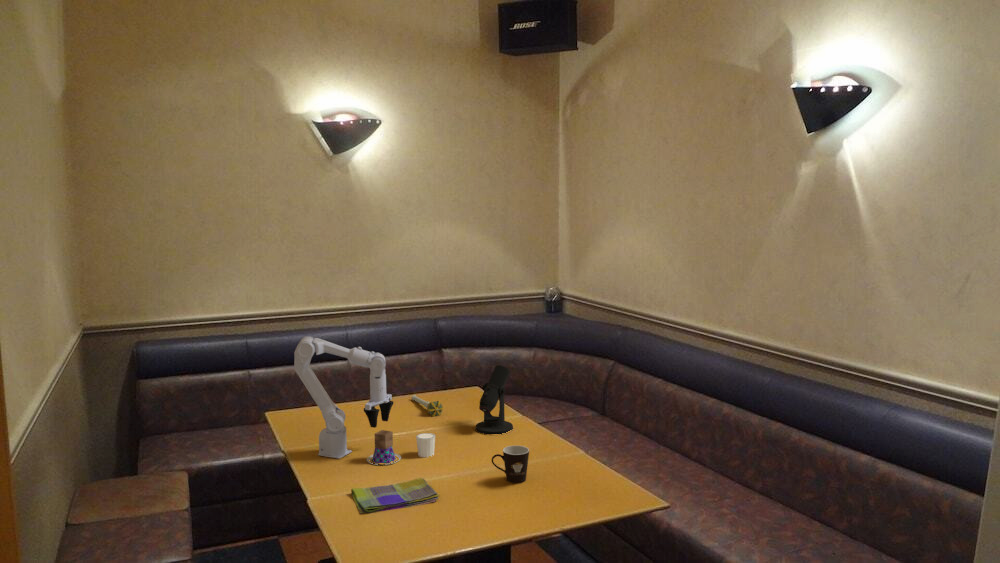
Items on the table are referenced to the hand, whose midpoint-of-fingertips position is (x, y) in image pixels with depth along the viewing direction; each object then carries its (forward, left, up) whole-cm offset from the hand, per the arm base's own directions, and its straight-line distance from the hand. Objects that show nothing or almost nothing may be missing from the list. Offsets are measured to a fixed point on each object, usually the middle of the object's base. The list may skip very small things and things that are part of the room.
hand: (379, 424), depth 263 cm
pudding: (+5, -6, -11) cm, 14 cm away
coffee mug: (+54, -5, -11) cm, 55 cm away
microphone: (+28, +40, -11) cm, 50 cm away
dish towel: (+26, -32, -11) cm, 43 cm away
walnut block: (+6, -6, -6) cm, 10 cm away
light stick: (-11, +54, -11) cm, 56 cm away
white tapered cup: (+17, +4, -11) cm, 20 cm away
